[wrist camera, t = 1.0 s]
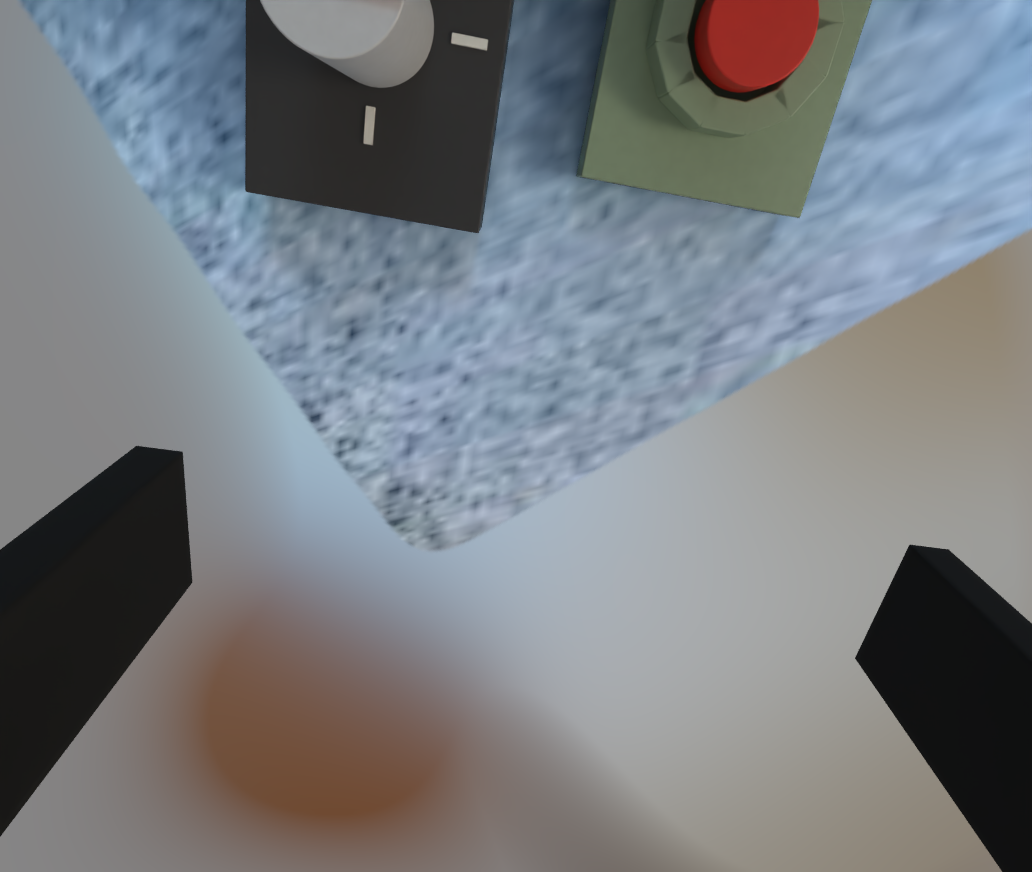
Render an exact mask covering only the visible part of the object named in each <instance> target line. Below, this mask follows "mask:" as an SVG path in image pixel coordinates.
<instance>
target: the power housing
mask: <svg viewBox="0 0 1032 872" xmlns="http://www.w3.org/2000/svg"><path fill="white" fill-rule="evenodd" d="M704 2H705V0H610V5H609V10H608V15H607V20H606V25H605V30H604V36H603V41H602V46H601V51H600V56H599V61H598V66H597V72H596V77H595V82H594V87H593V92H592V97H591V103H590V108H589V113H588V118H587V123H586V128H585V133H584V139H583V144H582V149H581V154H580V159H579V164H578V169H577V177H583V178H588V179H593V180H598V181H604V182H609V183H614V184H620V185H625V186H630V187H636V188H641V189H646V190H652V191H657V192H662V193H667V194H673V195H678V196H683V197H689V198H694V199H699V200H705V201H710V202H715V203H721V204H726V205H731V206H736V207H742V208H747V209H752V210H758V211H763V212H768V213H774V214H779V215H785V216H791V217H797V218H799V217H800V216H801V213H802V210H803V207H804V203H805V200H806V197H807V194H808V191H809V188H810V185H811V182H812V179H813V176H814V173H815V170H816V167H817V164H818V161H819V158H820V155H821V152H822V149H823V146H824V143H825V140H826V137H827V134H828V131H829V128H830V125H831V122H832V119H833V116H834V113H835V110H836V107H837V104H838V101H839V98H840V95H841V92H842V89H843V86H844V83H845V80H846V77H847V74H848V71H849V68H850V65H851V62H852V59H853V56H854V53H855V50H856V47H857V44H858V41H859V38H860V35H861V32H862V29H863V26H864V23H865V20H866V17H867V14H868V11H869V8H870V5H871V2H872V0H818V2H819V21H818V27H817V31H816V35H815V38H814V41H813V44H812V46H811V48H810V50H809V52H808V53H807V55H806V57H805V58H804V60H803V61H802V62H801V63H800V65H799V66H798V67H797V68H796V69H795V70H794V71H793V72H792V73H791V74H789V75H788V76H787V77H785V78H784V79H782V80H781V81H779V82H777V83H774V84H772V85H769V86H766V87H763V88H760V89H757V90H753V91H750V92H744V93H736V92H730V91H726V90H724V89H721V88H719V87H718V86H716V85H715V84H713V83H712V82H711V81H710V80H709V79H708V78H707V77H706V75H705V74H704V73H703V71H702V69H701V67H700V65H699V63H698V60H697V57H696V52H695V44H694V36H695V27H696V22H697V19H698V15H699V13H700V10H701V8H702V6H703V4H704Z"/></svg>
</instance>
